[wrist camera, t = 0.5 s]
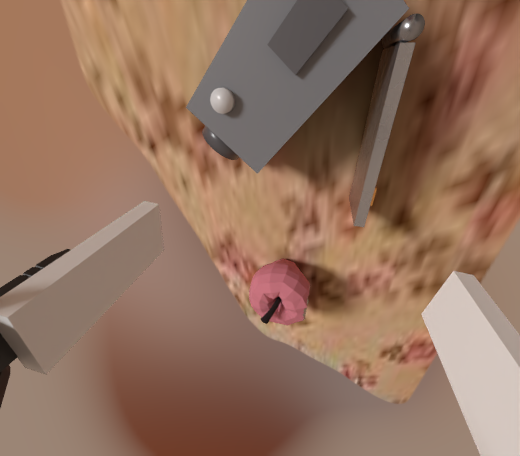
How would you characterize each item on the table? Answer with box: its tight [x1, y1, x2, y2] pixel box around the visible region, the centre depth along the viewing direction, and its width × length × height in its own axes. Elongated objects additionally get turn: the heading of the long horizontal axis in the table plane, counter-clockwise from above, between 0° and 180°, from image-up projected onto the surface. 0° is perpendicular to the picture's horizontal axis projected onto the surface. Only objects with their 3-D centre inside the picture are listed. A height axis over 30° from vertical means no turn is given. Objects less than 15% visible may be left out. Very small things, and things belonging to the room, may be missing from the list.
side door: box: [349, 14, 425, 227], centre depth 23 cm, size 16×2×7 cm, turn 179°
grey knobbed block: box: [186, 0, 409, 173], centre depth 23 cm, size 18×9×8 cm, turn 139°
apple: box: [249, 258, 310, 325], centre depth 35 cm, size 10×9×10 cm
